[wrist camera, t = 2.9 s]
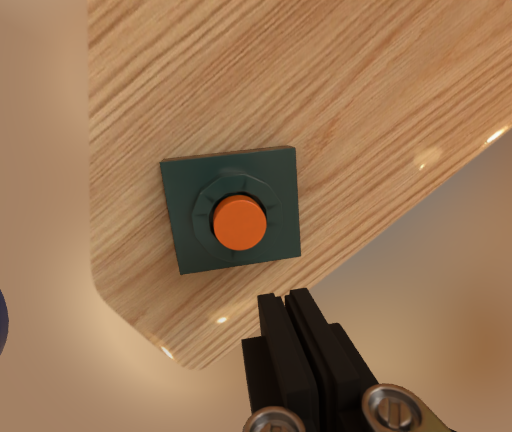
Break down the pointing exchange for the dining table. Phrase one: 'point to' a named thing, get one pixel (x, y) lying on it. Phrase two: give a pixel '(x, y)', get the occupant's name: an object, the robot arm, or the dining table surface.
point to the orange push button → (239, 222)
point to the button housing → (222, 186)
